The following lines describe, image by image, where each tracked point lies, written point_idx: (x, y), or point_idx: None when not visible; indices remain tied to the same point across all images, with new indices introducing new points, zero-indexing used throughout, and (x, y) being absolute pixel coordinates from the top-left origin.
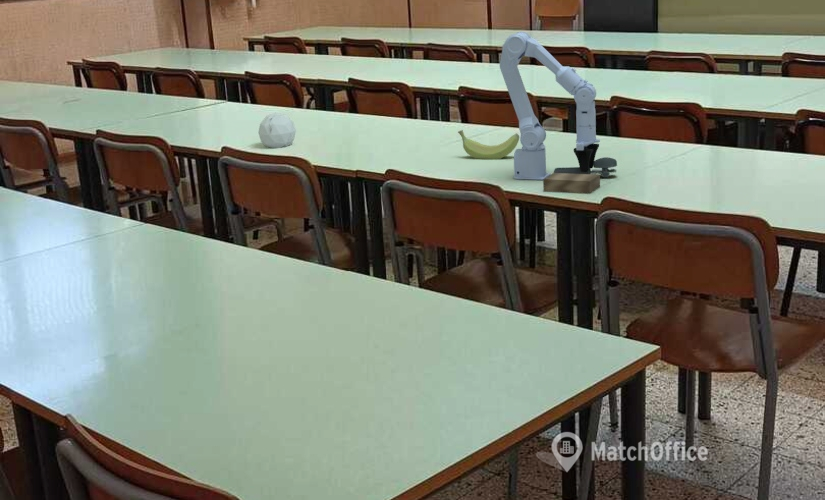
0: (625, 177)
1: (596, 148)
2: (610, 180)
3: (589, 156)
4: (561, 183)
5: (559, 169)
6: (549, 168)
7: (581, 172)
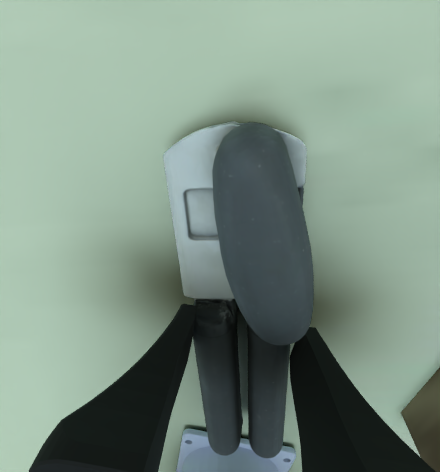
0: (257, 29)
1: (156, 434)
2: (359, 152)
3: (395, 438)
4: None
5: (268, 447)
6: (51, 426)
7: (289, 350)
